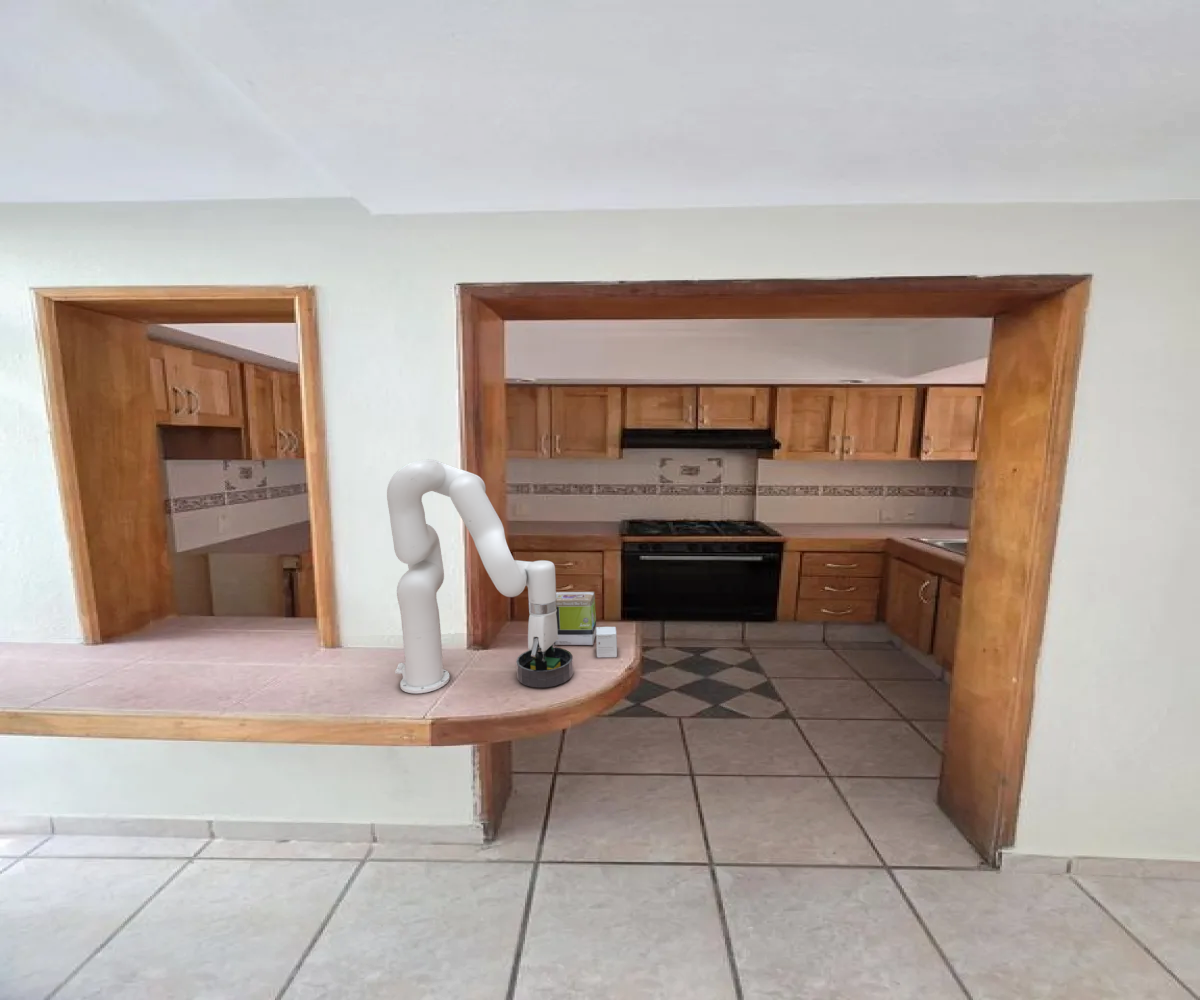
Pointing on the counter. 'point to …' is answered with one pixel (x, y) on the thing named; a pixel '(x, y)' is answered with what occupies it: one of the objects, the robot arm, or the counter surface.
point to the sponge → (548, 663)
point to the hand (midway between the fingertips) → (545, 669)
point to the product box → (606, 642)
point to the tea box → (576, 618)
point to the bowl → (544, 676)
